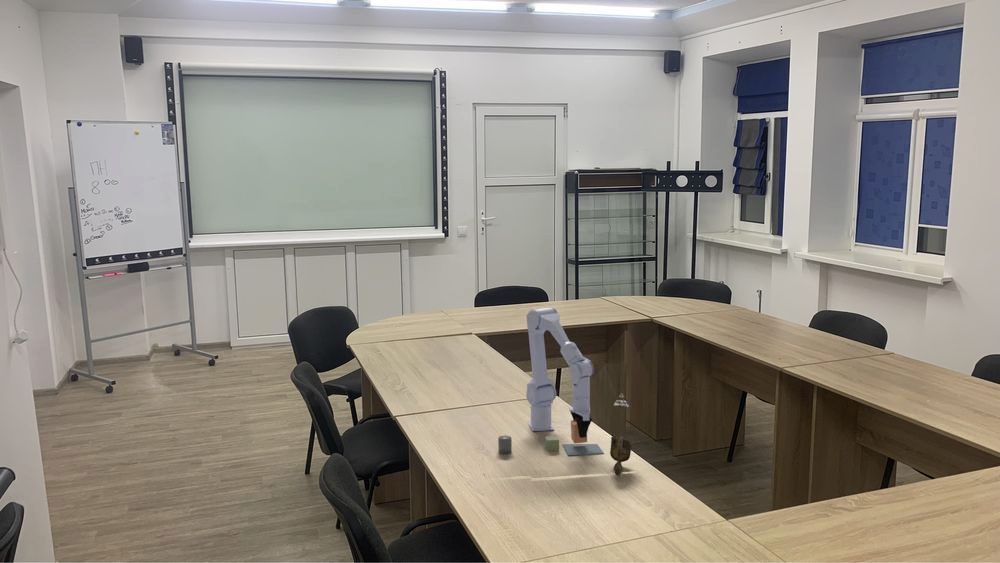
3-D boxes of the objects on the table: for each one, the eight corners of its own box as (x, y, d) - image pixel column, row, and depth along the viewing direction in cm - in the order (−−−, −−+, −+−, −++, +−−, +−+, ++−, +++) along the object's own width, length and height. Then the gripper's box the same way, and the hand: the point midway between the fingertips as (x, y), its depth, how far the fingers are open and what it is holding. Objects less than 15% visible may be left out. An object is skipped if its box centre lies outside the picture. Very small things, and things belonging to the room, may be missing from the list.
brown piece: (629, 462, 236) (629, 432, 234) (638, 478, 223) (638, 446, 222) (607, 462, 236) (607, 432, 234) (614, 478, 223) (614, 447, 222)
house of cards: (635, 407, 292) (636, 389, 291) (634, 414, 284) (634, 395, 283) (613, 406, 294) (613, 387, 293) (611, 413, 286) (611, 394, 285)
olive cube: (545, 447, 249) (545, 436, 249) (556, 447, 250) (556, 435, 249) (547, 451, 245) (547, 440, 245) (559, 451, 246) (559, 439, 245)
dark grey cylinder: (497, 450, 247) (497, 435, 247) (510, 449, 248) (510, 435, 247) (499, 454, 243) (499, 440, 242) (512, 454, 244) (512, 439, 243)
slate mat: (559, 441, 255) (559, 440, 255) (592, 439, 257) (592, 438, 257) (568, 456, 241) (568, 454, 241) (603, 453, 243) (603, 452, 243)
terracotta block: (571, 438, 250) (570, 420, 249) (584, 437, 251) (583, 419, 250) (574, 443, 246) (573, 424, 245) (587, 442, 247) (586, 423, 246)
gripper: (564, 390, 253) (564, 428, 255) (574, 402, 239) (574, 442, 241) (584, 389, 254) (584, 427, 256) (595, 401, 240) (595, 441, 242)
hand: (581, 434), depth 248 cm, fingers closed on terracotta block, 4 cm apart
